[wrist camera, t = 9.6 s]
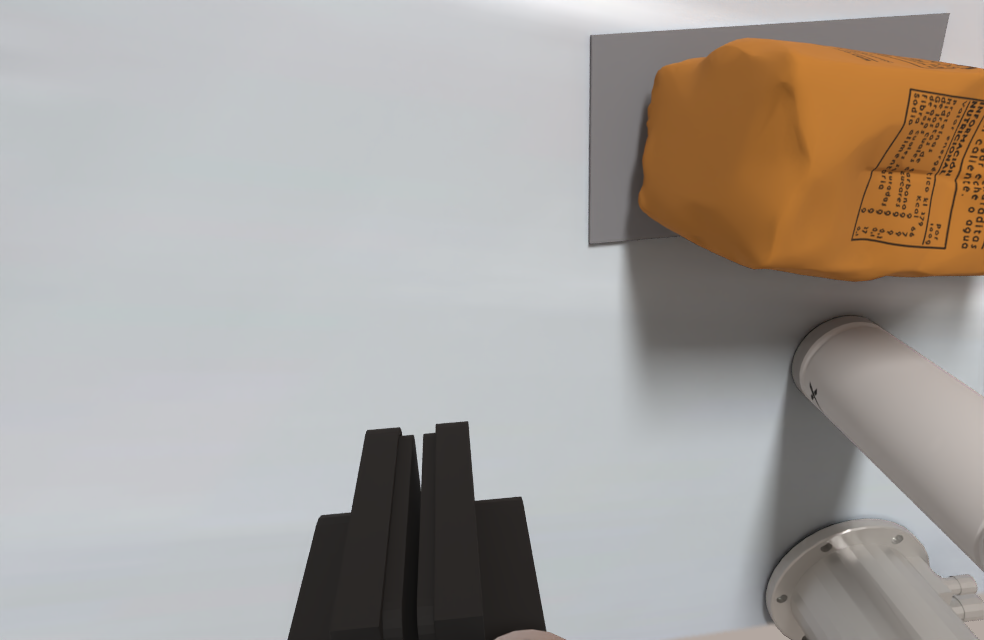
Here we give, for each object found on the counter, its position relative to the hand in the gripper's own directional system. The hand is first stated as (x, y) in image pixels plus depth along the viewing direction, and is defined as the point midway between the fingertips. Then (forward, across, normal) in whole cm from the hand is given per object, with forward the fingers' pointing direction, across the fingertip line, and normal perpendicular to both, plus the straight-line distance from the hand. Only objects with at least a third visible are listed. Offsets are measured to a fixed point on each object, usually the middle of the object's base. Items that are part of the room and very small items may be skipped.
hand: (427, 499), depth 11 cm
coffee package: (+20, -12, -2) cm, 23 cm away
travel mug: (+28, -25, +14) cm, 40 cm away
